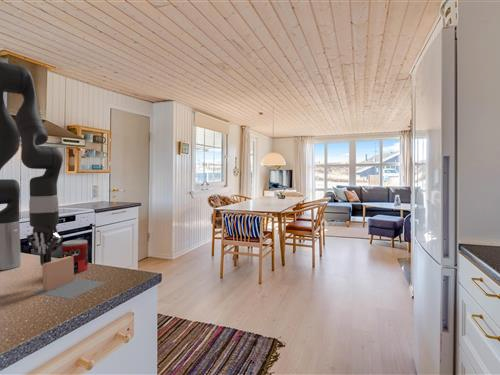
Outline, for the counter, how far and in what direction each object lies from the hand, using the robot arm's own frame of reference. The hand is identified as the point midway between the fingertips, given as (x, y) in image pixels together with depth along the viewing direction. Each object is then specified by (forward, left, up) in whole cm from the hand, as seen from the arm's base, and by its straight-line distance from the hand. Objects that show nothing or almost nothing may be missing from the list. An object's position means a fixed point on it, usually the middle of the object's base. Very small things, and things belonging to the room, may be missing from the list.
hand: (45, 264), depth 93 cm
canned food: (-3, +13, -7) cm, 15 cm away
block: (+5, 0, -6) cm, 8 cm away
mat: (+10, 0, -7) cm, 12 cm away
